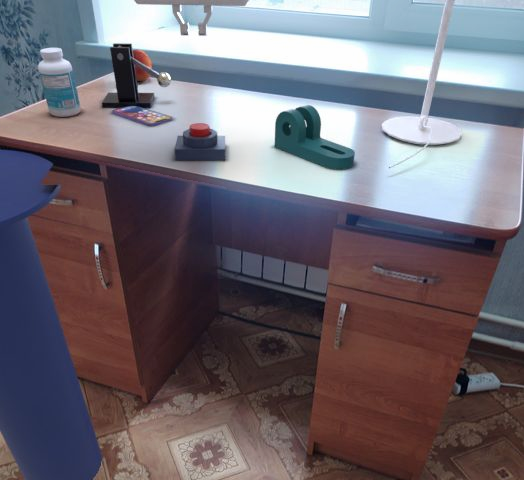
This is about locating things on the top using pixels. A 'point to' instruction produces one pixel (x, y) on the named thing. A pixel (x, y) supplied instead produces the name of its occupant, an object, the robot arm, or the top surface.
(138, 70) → the fruit
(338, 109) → the top surface
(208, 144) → the button box
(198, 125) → the button
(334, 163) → the bracket
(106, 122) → the top surface
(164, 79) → the lever
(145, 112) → the smartphone
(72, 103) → the pill bottle
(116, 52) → the bracket
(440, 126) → the desk lamp
